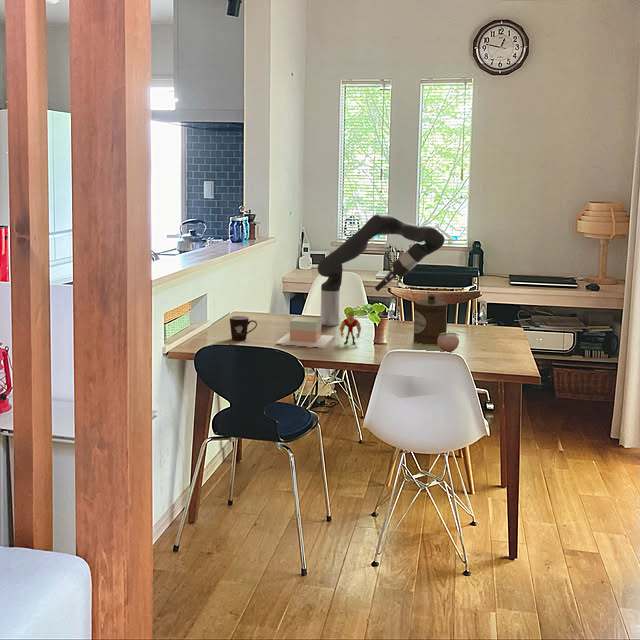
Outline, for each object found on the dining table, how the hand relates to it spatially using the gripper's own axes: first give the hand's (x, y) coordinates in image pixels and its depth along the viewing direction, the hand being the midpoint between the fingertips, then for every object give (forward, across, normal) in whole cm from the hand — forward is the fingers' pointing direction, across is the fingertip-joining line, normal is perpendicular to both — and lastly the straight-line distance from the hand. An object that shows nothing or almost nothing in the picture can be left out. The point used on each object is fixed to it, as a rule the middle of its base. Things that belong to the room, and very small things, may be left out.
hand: (377, 288), depth 355 cm
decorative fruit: (-5, +5, +41) cm, 42 cm away
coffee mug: (+60, +8, -24) cm, 65 cm away
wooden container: (+3, -16, +34) cm, 38 cm away
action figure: (+26, 0, +10) cm, 28 cm away
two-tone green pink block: (+40, +2, -4) cm, 41 cm away
